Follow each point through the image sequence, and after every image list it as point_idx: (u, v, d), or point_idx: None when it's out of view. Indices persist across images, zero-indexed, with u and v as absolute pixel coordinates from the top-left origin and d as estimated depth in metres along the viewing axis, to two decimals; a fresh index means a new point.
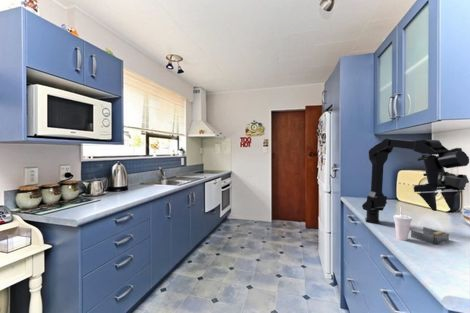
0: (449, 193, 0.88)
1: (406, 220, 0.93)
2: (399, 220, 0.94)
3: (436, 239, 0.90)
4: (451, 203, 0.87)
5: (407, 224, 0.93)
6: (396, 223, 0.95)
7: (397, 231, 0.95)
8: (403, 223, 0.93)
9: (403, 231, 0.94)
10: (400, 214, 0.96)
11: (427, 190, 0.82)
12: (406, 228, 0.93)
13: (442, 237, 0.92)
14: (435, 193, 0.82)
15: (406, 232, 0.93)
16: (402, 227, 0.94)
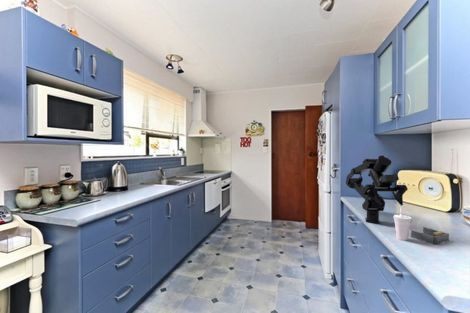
0: (397, 193, 1.07)
1: (406, 220, 0.93)
2: (399, 220, 0.94)
3: (436, 239, 0.90)
4: (399, 200, 1.04)
5: (407, 224, 0.93)
6: (396, 223, 0.95)
7: (397, 231, 0.95)
8: (403, 223, 0.93)
9: (403, 231, 0.94)
10: (400, 214, 0.96)
11: (366, 188, 1.07)
12: (406, 228, 0.93)
13: (442, 237, 0.92)
14: (374, 189, 1.06)
15: (406, 232, 0.93)
16: (402, 227, 0.94)
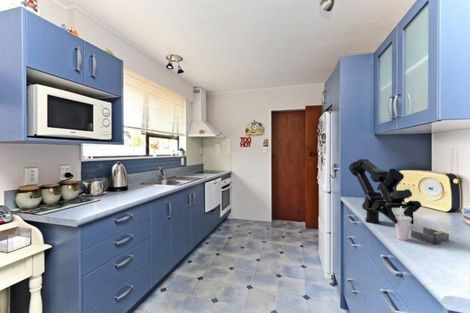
0: (406, 210, 0.98)
1: (406, 220, 0.93)
2: (399, 220, 0.94)
3: (436, 239, 0.90)
4: None
5: (407, 224, 0.93)
6: None
7: (397, 231, 0.95)
8: (403, 223, 0.93)
9: (403, 231, 0.94)
10: (400, 214, 0.96)
11: (377, 204, 0.98)
12: (406, 228, 0.93)
13: (442, 237, 0.92)
14: (388, 206, 0.97)
15: (406, 232, 0.93)
16: (402, 227, 0.93)
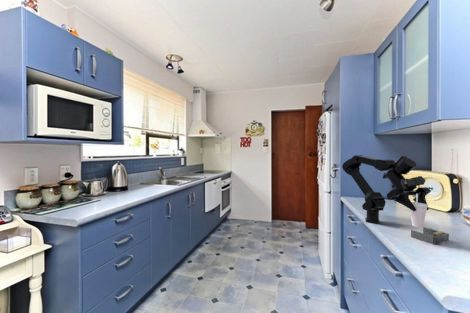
0: (418, 197, 0.99)
1: (424, 207, 0.92)
2: (417, 207, 0.93)
3: (436, 239, 0.90)
4: None
5: (425, 211, 0.93)
6: (413, 211, 0.94)
7: (414, 219, 0.95)
8: (421, 210, 0.93)
9: (421, 218, 0.93)
10: (416, 201, 0.95)
11: (395, 192, 0.95)
12: (423, 215, 0.93)
13: (442, 237, 0.92)
14: (406, 194, 0.95)
15: (423, 219, 0.93)
16: (420, 214, 0.93)
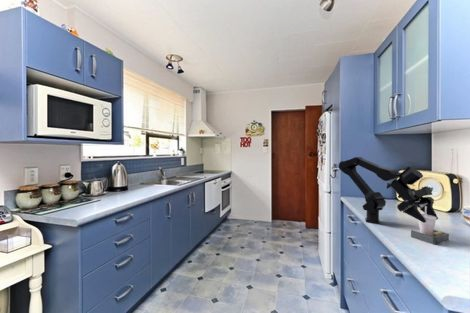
0: None
1: (434, 219, 0.94)
2: (428, 220, 0.94)
3: (436, 239, 0.90)
4: (432, 214, 0.98)
5: (434, 223, 0.94)
6: (424, 223, 0.95)
7: (424, 231, 0.95)
8: (432, 223, 0.94)
9: (431, 230, 0.94)
10: (425, 214, 0.96)
11: (408, 204, 0.95)
12: (433, 228, 0.94)
13: (442, 237, 0.92)
14: (415, 205, 0.95)
15: None
16: (431, 226, 0.94)
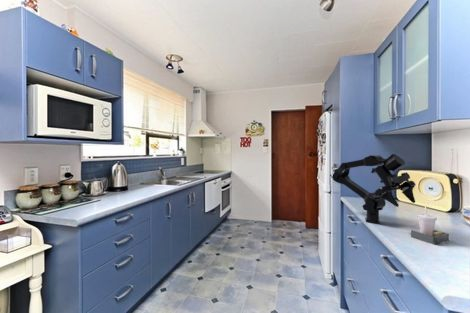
0: (406, 190, 1.08)
1: (434, 219, 0.94)
2: (428, 220, 0.94)
3: (436, 239, 0.90)
4: (411, 197, 1.06)
5: (434, 223, 0.94)
6: (424, 223, 0.95)
7: (424, 231, 0.95)
8: (432, 223, 0.94)
9: (431, 230, 0.94)
10: (425, 214, 0.96)
11: (382, 191, 1.04)
12: (433, 228, 0.94)
13: (442, 237, 0.92)
14: (389, 192, 1.04)
15: None
16: (431, 226, 0.94)
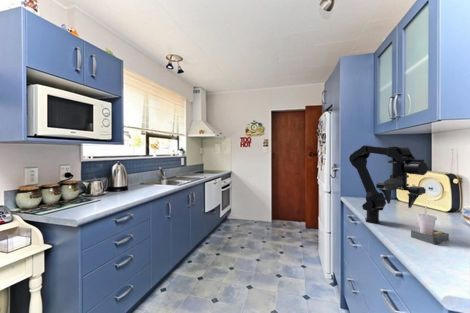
0: None
1: (434, 219, 0.94)
2: (428, 220, 0.94)
3: (436, 239, 0.90)
4: None
5: (434, 223, 0.94)
6: (424, 223, 0.95)
7: (424, 231, 0.95)
8: (432, 223, 0.94)
9: (431, 230, 0.94)
10: (425, 214, 0.96)
11: None
12: (433, 228, 0.94)
13: (442, 237, 0.92)
14: (381, 190, 1.09)
15: None
16: (431, 226, 0.94)
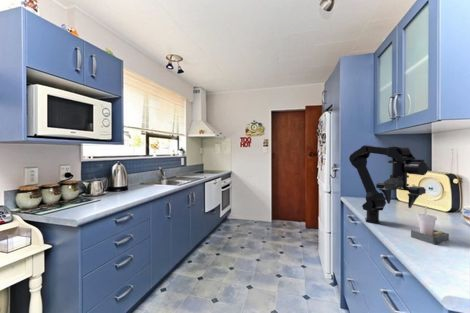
0: None
1: (434, 219, 0.94)
2: (428, 220, 0.94)
3: (436, 239, 0.90)
4: None
5: (434, 223, 0.94)
6: (424, 223, 0.95)
7: (424, 231, 0.95)
8: (432, 223, 0.94)
9: (431, 230, 0.94)
10: (425, 214, 0.96)
11: None
12: (433, 228, 0.94)
13: (442, 237, 0.92)
14: (381, 190, 1.09)
15: None
16: (431, 226, 0.94)
